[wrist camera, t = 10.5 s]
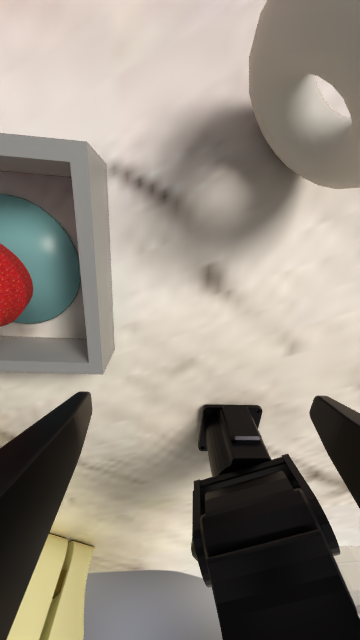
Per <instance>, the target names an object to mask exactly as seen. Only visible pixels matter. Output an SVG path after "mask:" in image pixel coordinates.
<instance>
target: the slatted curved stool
mask: <svg viewBox="0 0 360 640" xmlns="http://www.w3.org/2000/svg"><path fill="white" fill-rule="evenodd" d="M94 549H95V547H91V546H88V545H85V544H81V543H78V542H75V541H71V542H69V543H68V541H67V539H65V538H62V537H58V536H55V535H52V534H49V535H48V537H47V540H46V542H45V545H44V547H43V550H42V552H41V555H40V557H39V560H38V562H37V565H36V567H35V570H34V572H33V575H32V577H31V580H30V582H29V585H28V587H27V590H26V592H25V595H24V597H23V600H22V602H21V605H20V607H19V610H18V612H17V615H16V617H15V620H14V622H13V625H12V627H11V630H10V632H9V635H8V637H7V640H83V637H84V623H83V622H84V599H85V587H86V579H87V574H88V569H89V565H90V561H91V557H92V554H93V551H94Z"/></svg>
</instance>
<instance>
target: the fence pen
mask: <svg viewBox="0 0 360 640" xmlns="http://www.w3.org/2000/svg"><path fill="white" fill-rule="evenodd" d="M0 171H10V172H21V173H33V174H44V175H55V176H66V177H72V188H73V199H74V209H75V220H76V230H77V241H78V252H79V259H78V256H77V252H76V250H75V247H74V245H73V243H72V241H71V239H70V238H69V236H68V234H67V233H66V232H65V230H64V229H63V228H62V226H61V225H60V224H59V223H58V222H57V221H56V220H55V219H54V218H53V217H52V216H51V215H49V214H48V213H47V212H46V211H44V210H43V209H41V208H40V207H38V206H36V205H35V204H33V203H31V202H29V201H26V200H24V199H21V198H18V197H14V196H10V195H4V194H0V243H1V244H2V245H4V246H5V247H6V248H8V249H9V250H10V251H11V252H13V253H14V254H15V255H16V256H17V257H18V258H19V259H20V261H21V262H22V263H23V264H24V266H25V267H26V269H27V270H28V272H29V274H30V277H31V279H32V283H33V296H32V298H31V300H30V302H29V304H28V305H27V306H26V308H25V309H24V311H23V312H22V313H21V314H20V316H19V317H18V318H17V319H16V320H14V321H13V322H18V323H38V322H43V321H47V320H49V319H52V318H54V317H56V316H57V315H59V314H61V313H62V312H63V311H64V310H66V309H67V308H68V306H69V305H70V304H71V303H72V301H73V300H74V298H75V296H76V294H77V292H78V288H79V284H80V273H81V283H82V294H83V305H84V315H85V326H86V336H87V339H67V338H40V337H13V336H0V372H29V373H68V374H104V371H105V369H106V367H107V365H108V363H109V361H110V358H111V356H112V354H113V352H114V350H115V348H114V326H113V303H112V281H111V259H110V236H109V214H108V192H107V169H106V163H105V162H104V161H103V160H102V158H101V157H100V156H99V155H98V154H97V153H96V151H95V150H94V149H93V148H92V147H91V146H90V145H89V143H88V142H85V141H75V140H65V139H55V138H45V137H35V136H25V135H15V134H5V133H0ZM79 262H80V264H79Z"/></svg>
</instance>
